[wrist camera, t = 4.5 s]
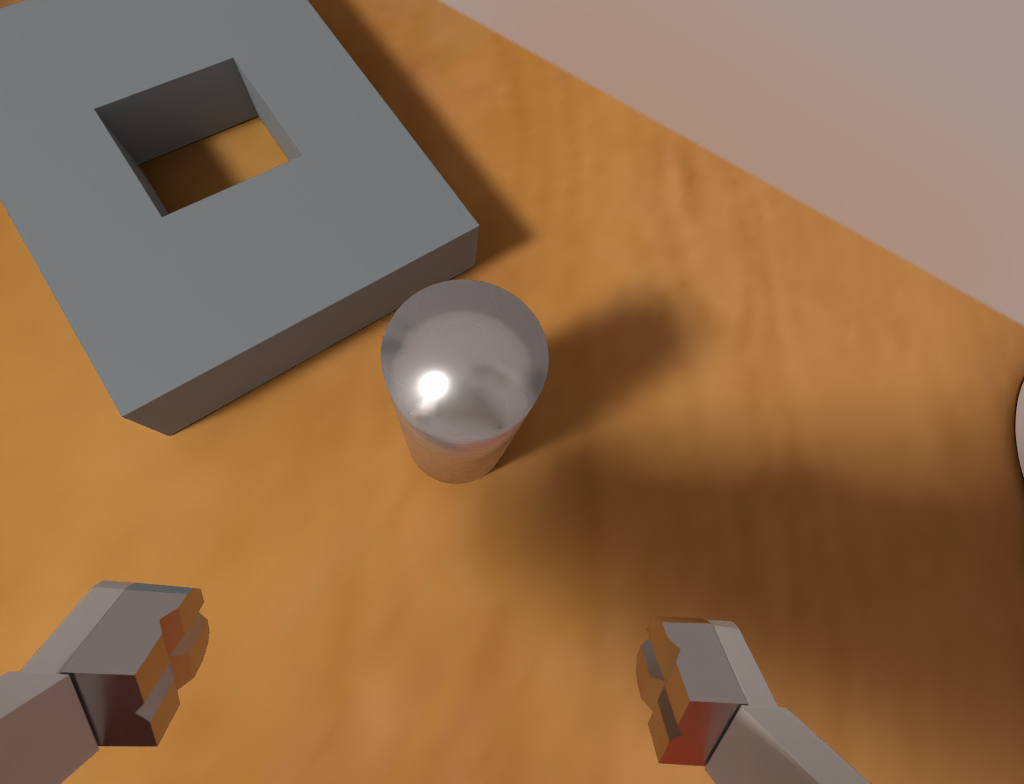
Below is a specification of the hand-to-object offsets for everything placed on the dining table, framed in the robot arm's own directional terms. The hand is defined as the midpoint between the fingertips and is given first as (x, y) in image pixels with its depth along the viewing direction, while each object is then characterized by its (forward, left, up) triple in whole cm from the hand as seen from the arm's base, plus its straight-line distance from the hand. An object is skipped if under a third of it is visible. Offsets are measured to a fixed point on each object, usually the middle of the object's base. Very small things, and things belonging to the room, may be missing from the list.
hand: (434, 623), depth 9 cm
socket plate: (+19, -2, -10) cm, 22 cm away
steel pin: (+4, -4, -10) cm, 12 cm away
